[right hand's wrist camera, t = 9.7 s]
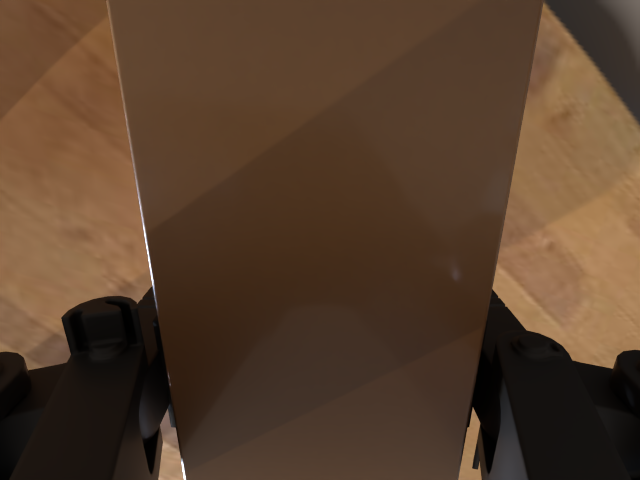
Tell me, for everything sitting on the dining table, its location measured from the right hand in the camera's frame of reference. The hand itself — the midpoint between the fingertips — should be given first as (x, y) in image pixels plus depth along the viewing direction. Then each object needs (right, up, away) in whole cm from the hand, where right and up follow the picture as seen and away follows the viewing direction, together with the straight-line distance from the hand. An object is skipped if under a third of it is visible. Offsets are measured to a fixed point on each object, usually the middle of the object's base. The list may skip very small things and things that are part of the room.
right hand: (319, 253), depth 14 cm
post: (0, -27, +11) cm, 29 cm away
